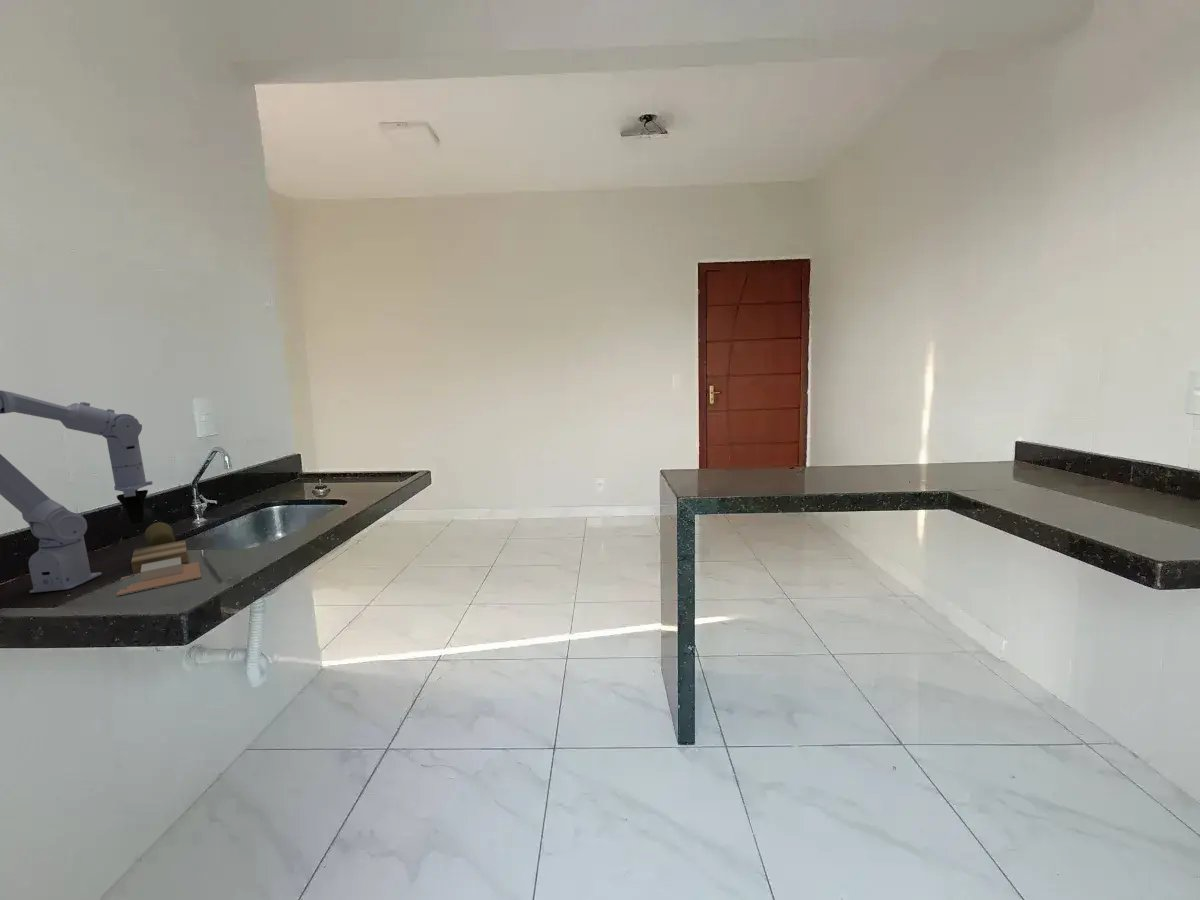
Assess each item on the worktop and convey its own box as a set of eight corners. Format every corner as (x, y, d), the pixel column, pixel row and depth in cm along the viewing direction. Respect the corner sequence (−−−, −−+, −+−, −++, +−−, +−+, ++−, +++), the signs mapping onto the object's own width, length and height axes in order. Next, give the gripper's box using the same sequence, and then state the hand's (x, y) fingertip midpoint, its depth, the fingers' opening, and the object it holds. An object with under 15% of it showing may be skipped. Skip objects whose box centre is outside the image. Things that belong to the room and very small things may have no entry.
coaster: (143, 573, 131) (141, 564, 131) (182, 565, 135) (180, 556, 135) (142, 581, 125) (140, 572, 125) (182, 572, 129) (181, 563, 129)
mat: (121, 579, 129) (121, 577, 129) (199, 563, 137) (198, 561, 137) (116, 596, 118) (116, 594, 118) (201, 578, 126) (201, 576, 126)
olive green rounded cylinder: (141, 527, 154) (144, 536, 146) (168, 518, 158) (173, 527, 149) (149, 548, 156) (152, 558, 147) (176, 539, 159) (181, 549, 151)
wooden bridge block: (136, 561, 142) (134, 549, 142) (187, 551, 148) (185, 540, 148) (133, 575, 131) (131, 562, 131) (188, 564, 137) (186, 551, 136)
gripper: (147, 466, 135) (157, 524, 137) (150, 460, 147) (160, 514, 149) (107, 470, 131) (118, 531, 133) (113, 464, 143) (124, 519, 145)
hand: (137, 522), depth 141 cm, fingers closed
